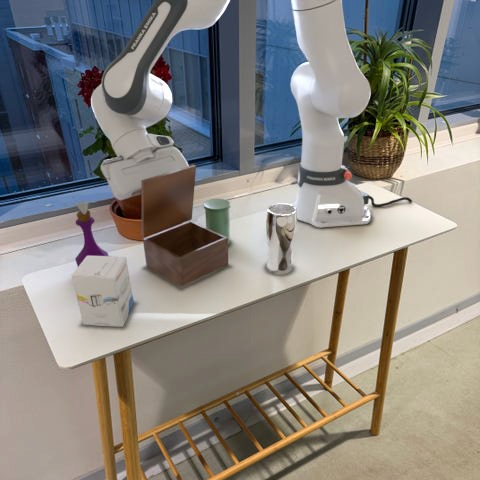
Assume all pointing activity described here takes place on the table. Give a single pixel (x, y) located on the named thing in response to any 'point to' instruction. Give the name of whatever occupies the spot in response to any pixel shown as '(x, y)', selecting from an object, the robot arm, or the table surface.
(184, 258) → the box
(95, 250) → the perfume bottle
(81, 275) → the ink box
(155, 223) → the lid
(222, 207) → the green cylinder canister
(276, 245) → the beer glass
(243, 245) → the table surface
